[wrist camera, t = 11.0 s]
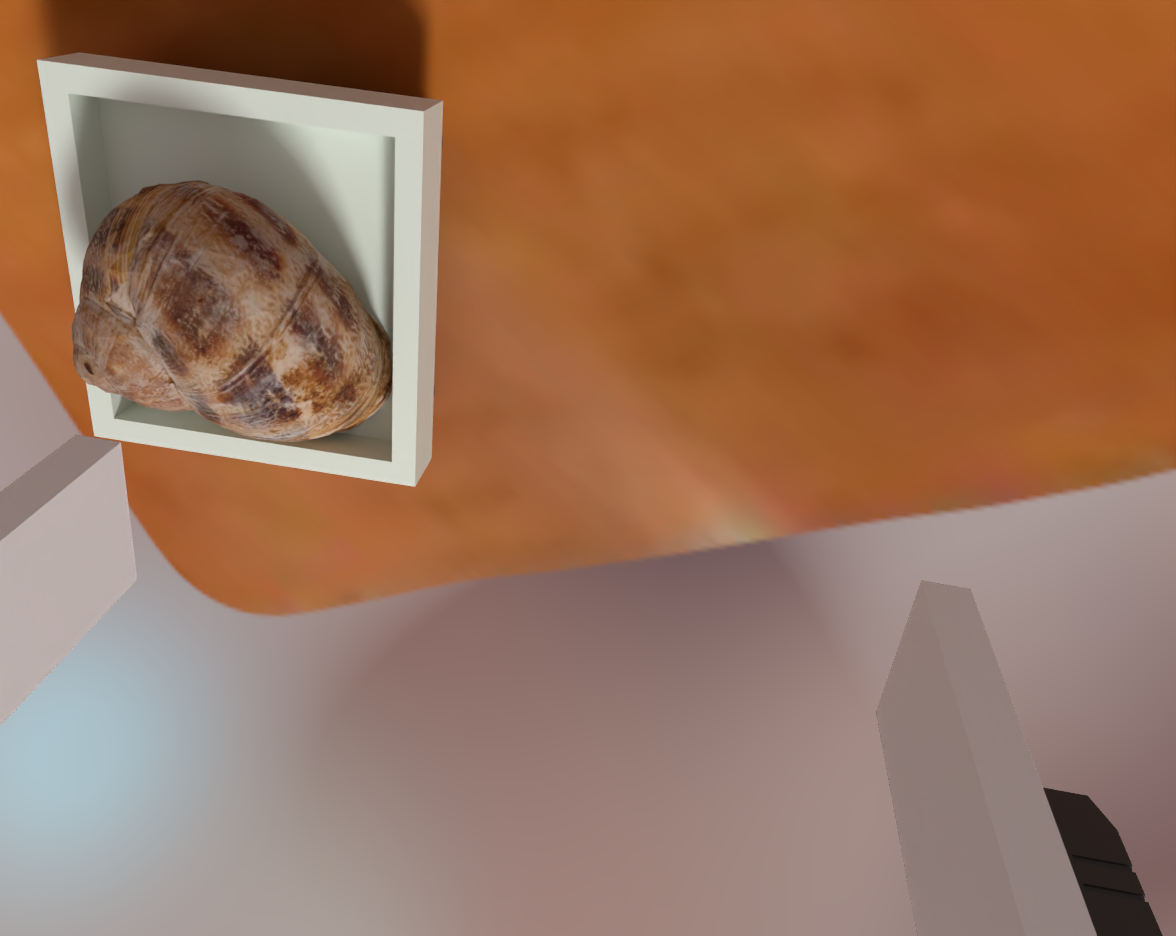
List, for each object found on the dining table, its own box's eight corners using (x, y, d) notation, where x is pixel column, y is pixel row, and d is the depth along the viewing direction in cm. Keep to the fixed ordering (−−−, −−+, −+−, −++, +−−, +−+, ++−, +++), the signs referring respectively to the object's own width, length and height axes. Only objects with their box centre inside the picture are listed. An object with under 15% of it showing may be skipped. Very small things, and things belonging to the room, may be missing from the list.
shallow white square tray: (115, 45, 39) (36, 59, 35) (459, 91, 39) (423, 111, 34) (155, 388, 47) (94, 436, 42) (445, 433, 46) (415, 486, 41)
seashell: (163, 439, 43) (0, 412, 33) (182, 234, 44) (26, 146, 34) (397, 453, 42) (301, 429, 32) (414, 242, 42) (324, 153, 32)
